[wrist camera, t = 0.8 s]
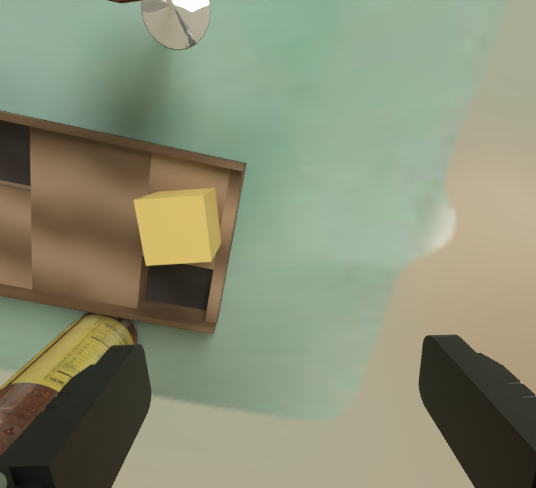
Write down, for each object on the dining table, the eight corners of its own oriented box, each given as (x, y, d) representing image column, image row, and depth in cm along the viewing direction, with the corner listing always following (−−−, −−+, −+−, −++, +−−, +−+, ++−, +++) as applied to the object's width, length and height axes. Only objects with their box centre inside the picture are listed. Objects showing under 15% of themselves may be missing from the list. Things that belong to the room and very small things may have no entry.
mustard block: (157, 191, 24) (133, 199, 19) (215, 187, 24) (203, 195, 19) (166, 246, 25) (145, 265, 21) (221, 243, 25) (211, 261, 21)
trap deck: (-110, 86, 23) (-196, 71, 19) (246, 163, 25) (241, 165, 21) (-87, 260, 27) (-153, 280, 23) (218, 316, 29) (210, 344, 25)
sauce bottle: (94, 367, 31) (-189, 713, 12) (65, 314, 29) (-318, 619, 10) (154, 351, 30) (-39, 688, 11) (129, 297, 29) (-150, 584, 10)
